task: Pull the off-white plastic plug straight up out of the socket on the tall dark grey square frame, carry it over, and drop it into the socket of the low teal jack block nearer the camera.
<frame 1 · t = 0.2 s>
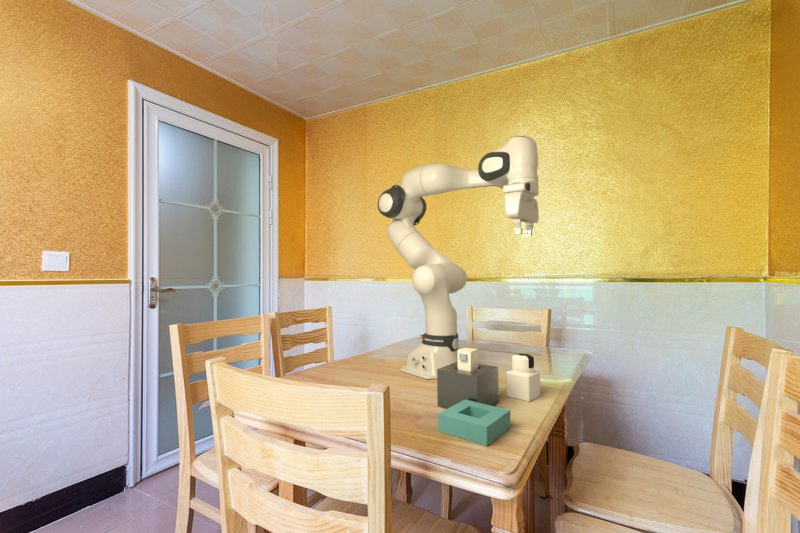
hand: (523, 235, 115), 47 cm above the table, fingers open, 8 cm apart
plug: (468, 382, 103), point 6 cm above the table, touching dark grey square frame
medicine bottle: (523, 397, 109), on the table
dark grey square frame: (468, 404, 103), on the table
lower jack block: (474, 429, 87), on the table
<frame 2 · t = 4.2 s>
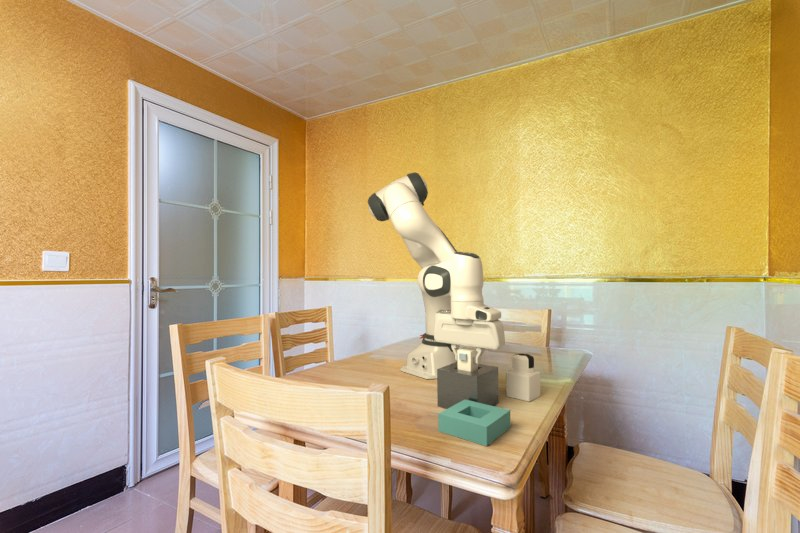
hand: (467, 362, 103), 12 cm above the table, fingers closed on plug, 4 cm apart
plug: (468, 382, 103), point 6 cm above the table, touching gripper, dark grey square frame
everything else where it was.
when the fingers open (7 cm above the table, at t = 12.4 s): plug stays where it is, resting in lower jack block.
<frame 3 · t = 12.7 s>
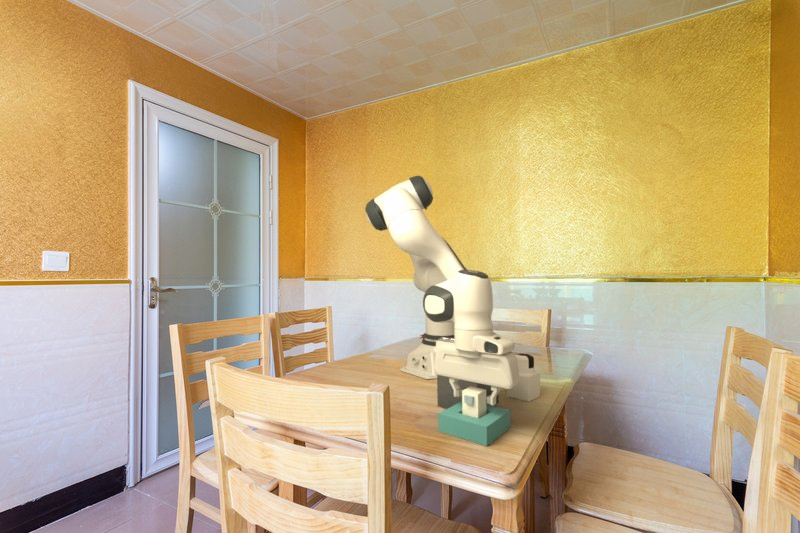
hand: (474, 400, 87), 7 cm above the table, fingers open, 7 cm apart
plug: (474, 429, 87), resting in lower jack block
everything else where it was.
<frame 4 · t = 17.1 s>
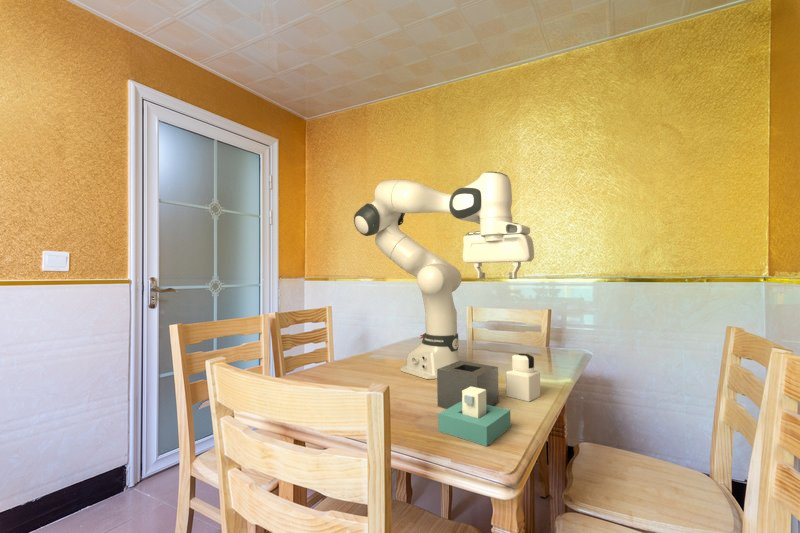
hand: (496, 278, 106), 34 cm above the table, fingers open, 8 cm apart
nothing on the table moved.
at the end: plug 0.1 cm off-centre on the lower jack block, point 0.0 cm above the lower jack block's base; plug tilted 0°; the gripper is holding nothing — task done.
